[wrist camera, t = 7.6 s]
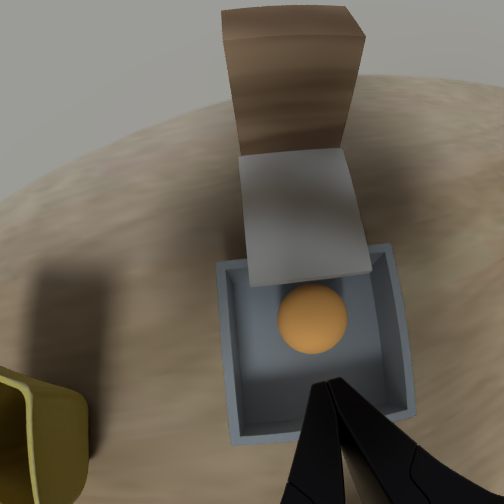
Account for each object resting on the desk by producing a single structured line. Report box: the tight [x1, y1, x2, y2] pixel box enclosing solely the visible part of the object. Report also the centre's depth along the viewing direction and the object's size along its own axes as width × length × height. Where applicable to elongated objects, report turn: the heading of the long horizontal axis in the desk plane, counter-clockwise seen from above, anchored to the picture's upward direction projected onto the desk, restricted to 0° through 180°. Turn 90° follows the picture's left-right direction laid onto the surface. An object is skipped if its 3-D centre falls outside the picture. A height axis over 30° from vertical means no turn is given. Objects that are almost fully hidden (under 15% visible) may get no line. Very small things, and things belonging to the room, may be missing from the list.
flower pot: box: [0, 366, 89, 504], centre depth 14 cm, size 9×9×9 cm
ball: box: [277, 284, 348, 354], centre depth 18 cm, size 4×4×4 cm
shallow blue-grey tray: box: [216, 243, 416, 446], centre depth 18 cm, size 10×10×4 cm
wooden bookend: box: [221, 5, 372, 287], centre depth 16 cm, size 11×6×13 cm, turn 5°
